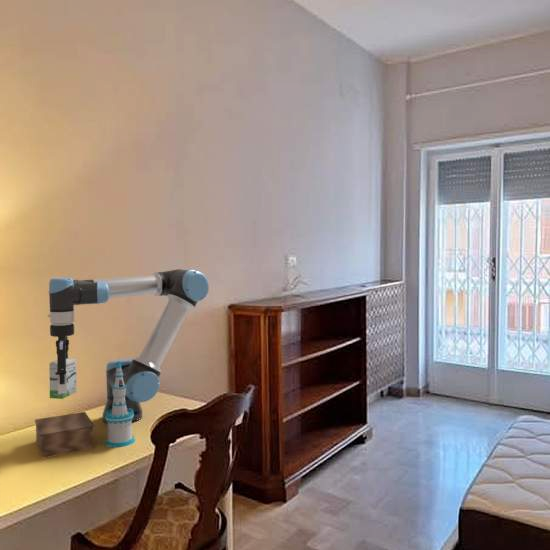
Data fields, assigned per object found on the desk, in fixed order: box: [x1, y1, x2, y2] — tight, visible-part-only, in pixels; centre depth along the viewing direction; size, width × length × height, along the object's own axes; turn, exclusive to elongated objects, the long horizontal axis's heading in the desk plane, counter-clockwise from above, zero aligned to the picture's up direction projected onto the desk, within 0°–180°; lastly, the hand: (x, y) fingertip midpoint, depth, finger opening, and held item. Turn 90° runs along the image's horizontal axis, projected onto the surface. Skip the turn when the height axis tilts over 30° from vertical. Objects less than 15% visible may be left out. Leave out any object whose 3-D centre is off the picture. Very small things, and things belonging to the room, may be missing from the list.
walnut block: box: [34, 411, 95, 459], centre depth 176 cm, size 17×17×8 cm
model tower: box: [104, 356, 136, 448], centre depth 178 cm, size 10×10×30 cm
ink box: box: [48, 358, 77, 400], centre depth 174 cm, size 9×5×12 cm, turn 168°
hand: (63, 389), depth 175 cm, fingers closed on ink box, 9 cm apart
